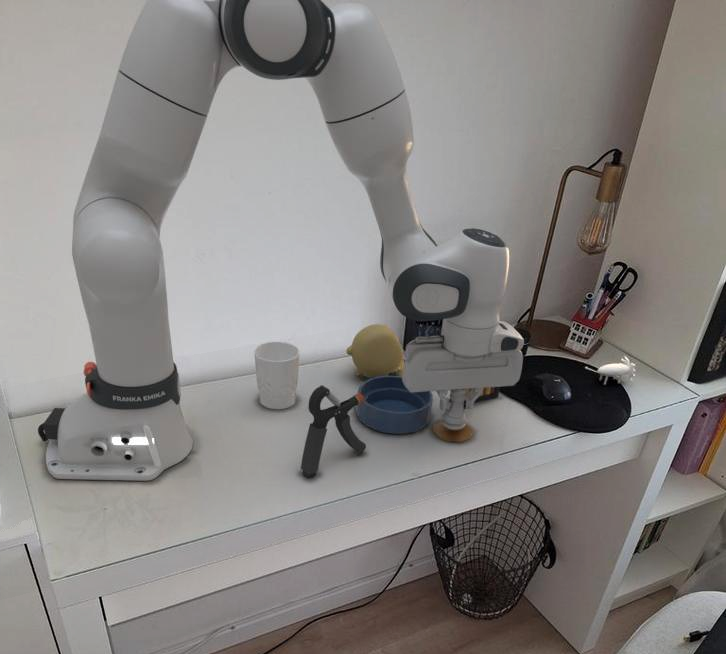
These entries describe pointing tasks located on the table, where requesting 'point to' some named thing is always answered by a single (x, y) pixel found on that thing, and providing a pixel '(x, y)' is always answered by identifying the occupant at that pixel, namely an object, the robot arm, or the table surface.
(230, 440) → the table surface
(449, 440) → the coaster
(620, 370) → the white animal figurine
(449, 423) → the rook chess piece
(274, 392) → the white cup
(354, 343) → the khaki rounded piece
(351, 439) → the hand grip strengthener
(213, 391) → the table surface
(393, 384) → the bowl
